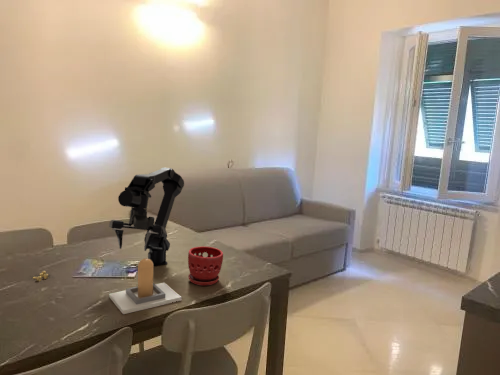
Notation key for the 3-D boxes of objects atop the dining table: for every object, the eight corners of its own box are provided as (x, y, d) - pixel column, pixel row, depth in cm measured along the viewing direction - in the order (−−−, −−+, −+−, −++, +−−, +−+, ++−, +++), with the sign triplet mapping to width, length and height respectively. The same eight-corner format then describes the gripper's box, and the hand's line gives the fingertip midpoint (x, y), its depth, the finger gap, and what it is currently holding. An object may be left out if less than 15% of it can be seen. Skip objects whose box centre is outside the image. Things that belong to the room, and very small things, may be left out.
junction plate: (164, 285, 150) (164, 278, 150) (181, 300, 139) (181, 292, 139) (109, 297, 139) (109, 289, 138) (123, 314, 128) (123, 306, 127)
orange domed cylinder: (144, 290, 142) (144, 255, 140) (155, 294, 140) (156, 258, 138) (134, 296, 138) (134, 259, 135) (146, 299, 136) (147, 262, 133)
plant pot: (194, 290, 148) (195, 258, 146) (182, 277, 159) (183, 247, 157) (227, 285, 154) (228, 254, 152) (213, 272, 165) (215, 244, 163)
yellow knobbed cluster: (44, 275, 155) (44, 270, 154) (51, 279, 152) (51, 274, 151) (31, 279, 151) (30, 274, 150) (37, 283, 148) (37, 278, 147)
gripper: (118, 205, 143) (111, 250, 141) (169, 212, 152) (163, 254, 150) (112, 204, 152) (105, 246, 151) (160, 210, 161) (154, 250, 160)
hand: (132, 249), depth 153 cm, fingers open, 9 cm apart
